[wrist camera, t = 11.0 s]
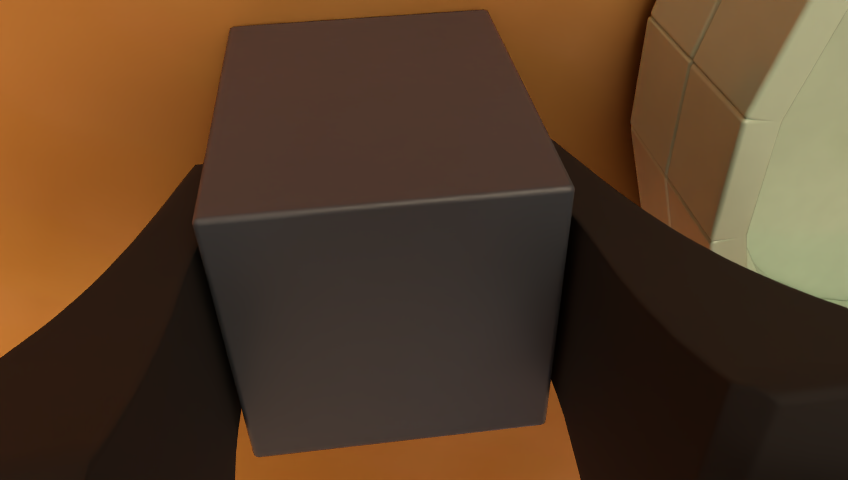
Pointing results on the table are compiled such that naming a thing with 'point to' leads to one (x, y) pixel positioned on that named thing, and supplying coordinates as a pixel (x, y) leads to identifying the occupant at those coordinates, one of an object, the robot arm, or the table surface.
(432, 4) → the table surface
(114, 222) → the table surface
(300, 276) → the block
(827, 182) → the bowl
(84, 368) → the robot arm
